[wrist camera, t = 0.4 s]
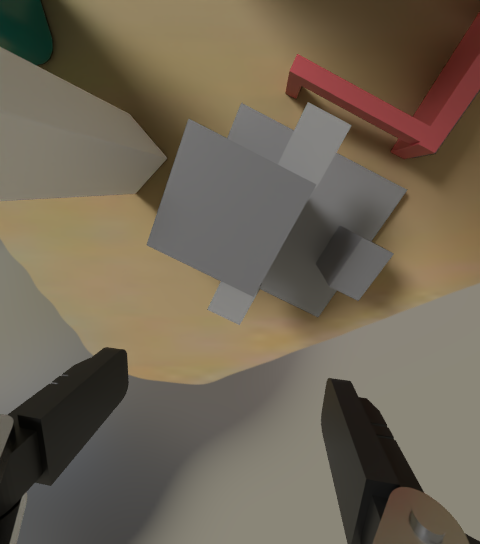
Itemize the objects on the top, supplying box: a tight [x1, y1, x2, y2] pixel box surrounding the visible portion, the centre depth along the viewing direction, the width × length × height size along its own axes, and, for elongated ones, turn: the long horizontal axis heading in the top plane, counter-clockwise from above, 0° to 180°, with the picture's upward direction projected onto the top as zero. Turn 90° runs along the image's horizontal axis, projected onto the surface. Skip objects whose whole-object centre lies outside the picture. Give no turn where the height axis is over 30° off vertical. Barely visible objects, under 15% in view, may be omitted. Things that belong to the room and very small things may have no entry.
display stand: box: [147, 102, 407, 325], centre depth 22 cm, size 19×17×14 cm
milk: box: [0, 47, 167, 201], centre depth 17 cm, size 6×6×22 cm
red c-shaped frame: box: [286, 12, 480, 159], centre depth 20 cm, size 14×14×5 cm
